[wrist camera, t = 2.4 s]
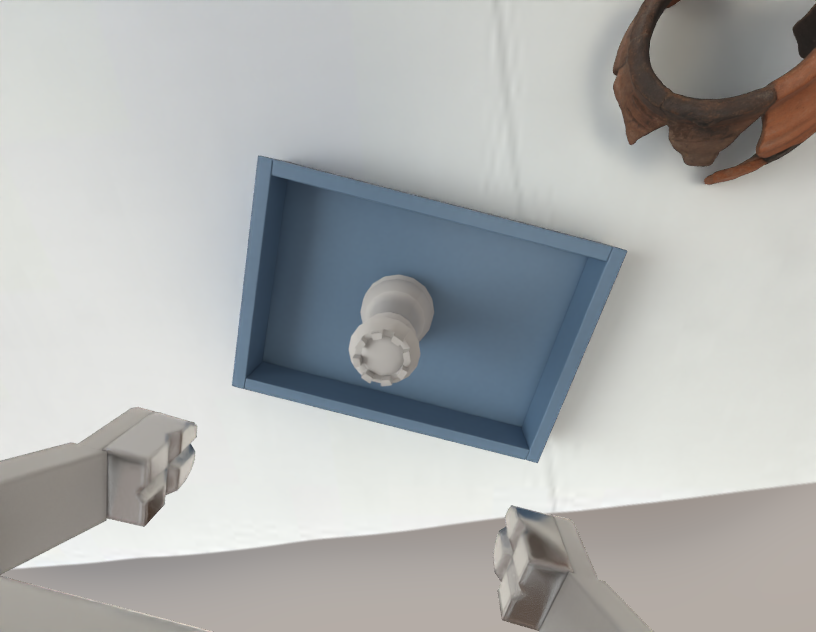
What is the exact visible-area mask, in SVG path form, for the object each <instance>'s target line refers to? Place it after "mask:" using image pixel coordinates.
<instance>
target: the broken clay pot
mask: <svg viewBox="0 0 816 632" xmlns="http://www.w3.org/2000/svg"><path fill="white" fill-rule="evenodd" d="M679 1H680V0H645V1H644V2H643V4H642V5H641V7H640V9H639V11H638V13H637V15H636V16H635V18H634V20H633V21H632V23H631V24H630V26H629V27H628V29H627V31H626V33H625V35H624V37H623V39H622V41H621V43H620V46H619V49H618V51H617V55H616V59H615V62H614V66H613V73H614V75H616V76H617V77H616V79H615V81H614V85H613V90H614V94H615V97H616V100H617V101H618V104H619V107H620V108H621V110H622V114H623V118H624V123H625V126H626V135H627V139H628V142H629V144H630V145H633V144H634V143H635V142H636V141H637V140H638V139H640V138H641V137H643V136H645V135H647V134H649V133H650V132H652V131H654V130H656V129H658V128H660V127H663V126H665V125H667V126H668V127H669V140H670V142H671V144H672V146H673V148H674V149H675V150H676V151H678V152H679V153H680V154H681V155H682V157H683V160H684V162H685V163H686V164H687V165H690V166H700V167H705V166H710V165H711V164H712V163H713V162H714V160H715V158H716V157H717V156H718V154H719V152H720V151H722V150H723V149H725V148H726V147H728V146H729V145H730V144H731V143H733V142H734V140H735V139H736V138H737V137H738V136H739V135H740V134H741V133H742V132H743V131H745V130H746V129H747V128H748V127H749V126H750V125H751V124H752V123H753V122H755V121H756V120H757V119H758V118H759V117H761V118H762V124H763V127H762V133H761V136H760V139H759V141H758V143H757V146H756V154H755V155H753V156H752V157H751V158H749V159H748V160H746V161H744V162H743V163H741V164H739V165H737V166H735V167H731V168H728V169H724V170H720V171H717V172H715V173H714V174H713V175H710V176H708V177H706V178H705V180H704V182H705V184H708V185H710V184H714V183H719V182H724V181H729V180H732V179H735V178H738V177H740V176H742V175H745V174H748V173H750V172H753V171H755V170H757V169H759V168H760V167H762V166H763V165H766V164H768V163H770V162H772V161H774V160H777V159H779V158H781V157H783V156H784V155H786V154H787V153H789V152H790V151H792V150H793V149H795V148H796V147H797V146H799V145H800V144H801V143H803V142H804V141H805V140H806V139H808V138H809V137H810V136H811V135H813V134H814V133H815V132H816V4H815V5H814V6H813V7H812V8H811V9H810V11H809V12H808V13H807V14H806V15H805V16H804V17H803V18H802V19H801V20H799V21H798V22H797V23H796V24H795V25H794V27H793V33H794V36H795V38H796V40H797V43H798V51H799V55H800V57H802V58H805V59H804V60H802V61H801V62H800V63H799V64H798V65H797V66H795V67H794V68H793V69H792V70H790V71H789V72H787V73H786V74H784V75H783V76H781V77H780V78H778V79H776V80H774V81H773V82H771V83H770V84H768V85H767V86H766V87H764V88H761V89H758V90H755V91H752V92H749V93H746V94H743V95H739V96H735V97H731V98H724V99H696V98H691V97H686V96H683V95H679V94H675V93H673V92H672V91H671V90H670V89H669V88H667V87H666V86H665V85H663V83H662V82H661V81H660V80H659V78H658V77H657V76H656V74H655V73H654V71H653V69H652V67H651V64H650V57H649V48H650V39H651V36H652V33H653V30H654V28H655V26H656V23H657V21H658V19H659V18H660V16H661V14H662V13H663V11H664V10H665V8H669V7H671V6H673V5H675V4H676V3H677V2H679Z"/></svg>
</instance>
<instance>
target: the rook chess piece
mask: <svg viewBox="0 0 816 632" xmlns="http://www.w3.org/2000/svg"><path fill="white" fill-rule="evenodd" d="M360 313H361V318H362V323H363V324H361V325H359V326H358V328H357V329H356V331H355V332H354V333H353V335H352V336H351V340H350V345H349V354H350V358H351V362H352V364H353V365H354V368H356V369H357V371H358V372H359V373H360V374H361V375H362V376H361V378H362V379H364V380H365V381H367V382H368V383H371V381H374V382H378V383H381V386H390V385H392V383H397V382H399V381H401V380H403V379H405V378H407V377H409V376H410V374H411V373H412V372H413V371H414V369H415V368H416V367H417V365H418V361H419V358H420V347H419V341H421V339H422V338H423V337H424V336H425V335H426V333H427V332H428V331H429V329H430V326H431V322H432V319H433V315H434V307H433V300H432V297H431V296H430V294H429V292H428V291H427V289H426V288H425V286H423V285H422V284H421V283H419V282H418V281H417V280H415V279H414V278H411V277H407V276H403V275H392V276H385V277H383V278H381V279H380V280H378V281H376V282H375V283H373V284H372V285H371V287H370V288H369V290H368V291H367V292H366V294H365V296H364V299H363V302H362V307H361V312H360Z"/></svg>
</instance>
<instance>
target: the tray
mask: <svg viewBox="0 0 816 632" xmlns="http://www.w3.org/2000/svg"><path fill="white" fill-rule="evenodd" d="M626 253H627V250H624V249H620V248H617V247H613V246H610V245H607V244H603V243H599V242H595V241H591V240H588V239H584V238H580V237H576V236H572V235H568V234H564V233H560V232H557V231H553V230H549V229H545V228H541V227H537V226H533V225H529V224H526V223H522V222H518V221H514V220H510V219H506V218H502V217H498V216H495V215H491V214H487V213H483V212H479V211H475V210H471V209H467V208H464V207H460V206H456V205H452V204H448V203H444V202H440V201H436V200H433V199H429V198H425V197H421V196H417V195H413V194H409V193H405V192H402V191H398V190H394V189H390V188H386V187H382V186H378V185H374V184H371V183H367V182H363V181H359V180H355V179H351V178H347V177H343V176H340V175H336V174H332V173H328V172H324V171H320V170H316V169H312V168H309V167H305V166H301V165H297V164H293V163H289V162H285V161H281V160H277V159H273V158H268V157H264V156H258V161H257V169H256V178H255V187H254V196H253V205H252V213H251V222H250V231H249V240H248V249H247V258H246V266H245V275H244V284H243V293H242V302H241V311H240V319H239V328H238V337H237V346H236V355H235V364H234V372H233V381H232V386H234V387H238V388H242V389H244V388H245V389H246V390H250V391H254V392H258V393H262V394H266V395H270V396H274V397H278V398H282V399H286V400H290V401H294V402H298V403H302V404H306V405H310V406H314V407H318V408H322V409H326V410H330V411H334V412H338V413H341V414H345V415H349V416H353V417H357V418H361V419H365V420H369V421H373V422H377V423H381V424H385V425H389V426H393V427H397V428H401V429H405V430H409V431H413V432H417V433H421V434H425V435H429V436H433V437H437V438H441V439H444V440H448V441H452V442H456V443H460V444H464V445H468V446H472V447H476V448H480V449H484V450H488V451H492V452H496V453H500V454H504V455H508V456H512V457H516V458H520V459H524V460H525V459H526V460H528V461H532V462H536V463H538V461H539V459H540V456H541V454H542V452H543V449H544V447H545V445H546V442H547V440H548V438H549V435H550V433H551V430H552V428H553V426H554V423H555V421H556V419H557V416H558V414H559V412H560V409H561V407H562V404H563V402H564V400H565V397H566V395H567V393H568V390H569V388H570V386H571V383H572V381H573V379H574V376H575V374H576V371H577V369H578V367H579V364H580V362H581V360H582V357H583V355H584V353H585V350H586V348H587V345H588V343H589V341H590V338H591V336H592V334H593V331H594V329H595V327H596V324H597V322H598V320H599V317H600V315H601V312H602V310H603V308H604V305H605V303H606V301H607V298H608V296H609V294H610V291H611V289H612V286H613V284H614V282H615V279H616V277H617V275H618V272H619V270H620V268H621V265H622V263H623V260H624V258H625V256H626ZM392 275H403V276H407V277H411V278H414V279H415V280H417V281H418V282H419V283H421V284H422V285H423V286H425V288H426V289H427V291H428V292H429V294H430V296H431V297H432V300H433V307H434V315H433V319H432V322H431V326H430V329H429V331H428V332H427V333H426V335H425V336H424V337H423V338H422V339H421V341H419V347H420V358H419V361H418V365H417V367H416V368H415V369H414V371H413V372H412V373H411V374H410V376H409V377H407V378H405V379H403V380H401V381H399V382H397V383H392V385H390V386H381V383H378V382H374V381H371V383H368V382H367V381H365V380H364V379H362V378H361V376H362V375H361V374H360V373H359V372H358V371H357V369H356V368H354V365H353V364H352V362H351V358H350V354H349V345H350V340H351V336H352V335H353V333H354V332H355V331H356V329H357V328H358V326H359V325H361V324H363V323H362V318H361V313H360V312H361V307H362V302H363V299H364V296H365V294H366V292H367V291H368V290H369V288H370V287H371V285H372V284H373V283H375V282H376V281H378V280H380V279H381V278H383V277H385V276H392Z"/></svg>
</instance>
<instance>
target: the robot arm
mask: <svg viewBox="0 0 816 632" xmlns="http://www.w3.org/2000/svg"><path fill="white" fill-rule="evenodd" d="M196 437H197V425H196V424H195V423H194V422H190V421H187V420H184V419H180V418H177V417H173V416H170V415H166V414H163V413H159V412H154V411H151V410H147V409H144V408H140V407H135V408H131V409H129V410H128V411H126V412H125V413H123V414H122V415H120V416H119V417H117V418H116V419H114V420H113V421H111V422H110V423H108V424H107V425H105V426H104V427H102V428H101V429H99V430H98V431H96V432H95V433H93V434H92V435H90V436H89V437H87V438H86V439H84V440H83V441H81V442H80V443H78V444H76V443H67V444H63V445H59V446H55V447H52V448H48V449H44V450H40V451H36V452H32V453H29V454H25V455H21V456H17V457H13V458H9V459H5V460H2V461H0V575H1V574H3V573H5V572H7V571H9V570H11V569H13V568H15V567H17V566H19V565H20V564H22V563H24V562H26V561H28V560H30V559H32V558H34V557H36V556H38V555H40V554H42V553H44V552H46V551H48V550H50V549H52V548H54V547H56V546H57V545H59V544H61V543H63V542H65V541H67V540H69V539H71V538H73V537H75V536H77V535H79V534H81V533H83V532H85V531H87V530H89V529H91V528H93V527H95V526H96V525H98V524H100V523H102V522H104V521H106V518H108V519H112V520H117V521H121V522H126V523H130V524H134V525H139V526H143V527H144V526H145V525H146V524H147V523H148V522H149V521H150V520H151V519H152V518H153V517H154V515H155V514H156V513H157V512H158V511H159V510H160V509H161V508H162V507H163V506H164V504H165V495H167V494H170V493H172V492H174V491H177V490H178V489H179V488H180V487H181V485H182V484H183V483H184V482H185V481H186V479H187V477H188V475H189V473H190V472H191V470H192V467H193V463H194V460H195V450H194V449H193V447H192V445H191V442H192V441H193V440H194V439H195V438H196ZM505 521H506V527H505V528H503V529H501V530H500V531H499V533H498V535H497V538H496V541H495V547H494V553H493V554H494V555H493V556H494V557H493V558H494V569H495V574H496V575H497V576H498V578H499V579H500V581H501V584H500V587H499V589H498V597H499V603H500V610H501V616H502V620H504V621H507V622H510V623H513V624H517V625H520V626H524V627H527V628H531V629H534V630H537V631H539V632H653V630H652V629H651V628H649V626H648V625H647V624H646V623H645V622H644V621H643V620H642V619H641V618H640V617H639V616H638V615H637V614H636V613H635V612H634V611H633V610H632V609H631V608H630V607H629V606H628V605H627V604H626V603H625V602H624V601H623V600H622V599H621V598H620V597H619V596H618V595H617V593H616V592H614V590H613V589H612V588H611V587H610V586H609V585H608V584H607V583H606V582H605V581H601V580H598V578H597V575H596V573H595V571H594V568H593V566H592V564H591V561H590V559H589V557H588V554H587V552H586V549H585V547H584V545H583V542H582V540H581V538H580V536H579V533H578V531H577V528H576V526H575V524H574V523H573V522H572V520H571V519H567V518H563V517H558V516H554V515H548V514H544V513H540V512H536V511H532V510H528V509H524V508H520V507H516V506H512V505H511V507H510V508H509V509H508V511H507V513H506V515H505ZM0 632H213V631H209V630H206V629H202V628H198V627H194V626H190V625H187V624H183V623H179V622H175V621H171V620H167V619H164V618H159V617H156V616H152V615H148V614H144V613H140V612H137V611H133V610H129V609H125V608H121V607H118V606H114V605H110V604H106V603H102V602H99V601H95V600H91V599H87V598H83V597H79V596H75V595H71V594H68V593H64V592H60V591H56V590H52V589H49V588H45V587H41V586H37V585H33V584H30V583H26V582H22V581H18V580H14V579H11V578H7V577H3V576H0Z"/></svg>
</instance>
